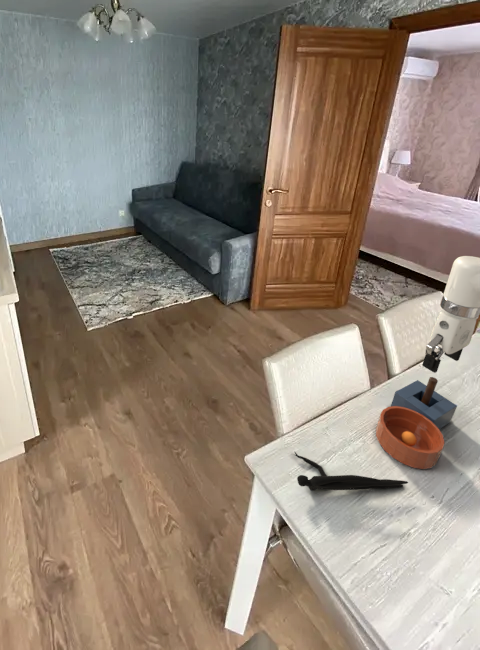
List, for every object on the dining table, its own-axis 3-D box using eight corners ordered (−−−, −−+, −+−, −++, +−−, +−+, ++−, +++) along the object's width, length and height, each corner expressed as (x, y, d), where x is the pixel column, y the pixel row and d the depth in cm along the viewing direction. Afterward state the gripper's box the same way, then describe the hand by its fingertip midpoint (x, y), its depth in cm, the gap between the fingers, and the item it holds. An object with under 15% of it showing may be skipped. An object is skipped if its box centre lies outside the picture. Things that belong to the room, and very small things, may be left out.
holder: (450, 422, 94) (457, 405, 92) (428, 436, 90) (434, 420, 88) (412, 395, 103) (417, 379, 101) (390, 407, 99) (395, 391, 96)
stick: (425, 417, 96) (439, 380, 91) (421, 418, 95) (434, 382, 90) (419, 412, 97) (432, 376, 93) (414, 413, 97) (428, 377, 92)
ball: (413, 429, 88) (422, 441, 85) (407, 437, 89) (415, 449, 87) (402, 427, 88) (410, 439, 85) (396, 436, 89) (404, 448, 86)
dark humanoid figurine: (396, 441, 81) (292, 438, 80) (416, 485, 74) (303, 482, 73) (381, 455, 86) (283, 452, 85) (398, 496, 79) (292, 494, 78)
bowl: (448, 456, 85) (456, 439, 83) (415, 480, 80) (422, 462, 77) (396, 415, 96) (401, 399, 94) (363, 434, 91) (368, 417, 88)
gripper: (457, 323, 77) (436, 383, 83) (497, 305, 84) (475, 361, 90) (422, 307, 83) (405, 364, 89) (462, 291, 90) (443, 345, 96)
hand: (440, 363), depth 89 cm, fingers open, 9 cm apart
